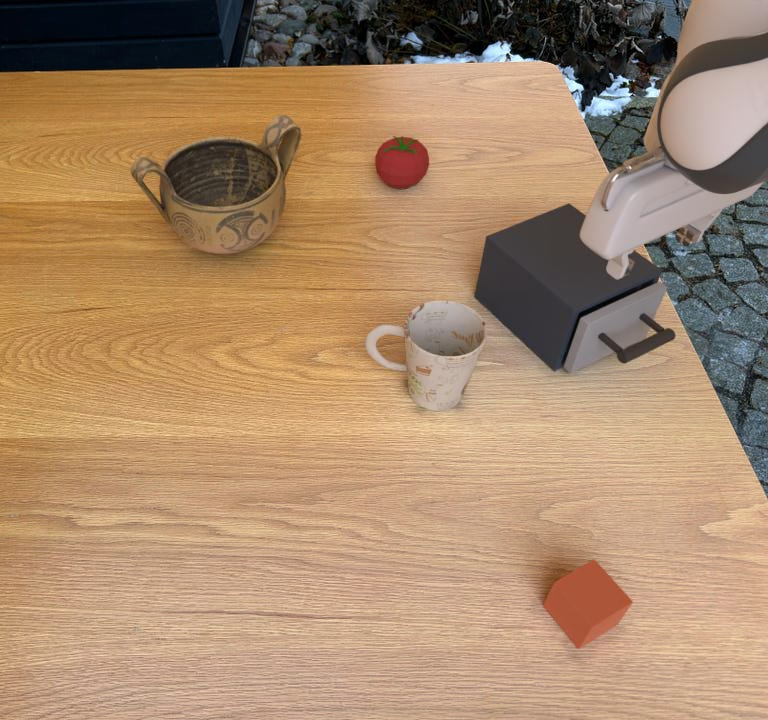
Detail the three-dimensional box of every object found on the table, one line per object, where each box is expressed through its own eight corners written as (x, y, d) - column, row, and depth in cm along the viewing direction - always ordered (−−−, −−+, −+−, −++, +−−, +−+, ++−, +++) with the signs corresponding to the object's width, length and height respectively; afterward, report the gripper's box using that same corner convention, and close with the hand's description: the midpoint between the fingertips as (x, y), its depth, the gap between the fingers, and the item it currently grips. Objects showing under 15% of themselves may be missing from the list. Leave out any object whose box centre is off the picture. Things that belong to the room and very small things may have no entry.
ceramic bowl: (274, 184, 112) (269, 89, 101) (328, 246, 102) (328, 149, 91) (133, 228, 106) (111, 132, 95) (174, 299, 95) (155, 201, 84)
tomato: (365, 174, 113) (367, 128, 108) (411, 162, 115) (416, 117, 109) (387, 202, 108) (391, 156, 102) (436, 190, 110) (442, 144, 104)
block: (580, 582, 68) (594, 558, 64) (617, 624, 65) (633, 601, 62) (542, 605, 66) (553, 582, 63) (578, 649, 64) (592, 627, 60)
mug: (466, 427, 80) (480, 364, 73) (352, 401, 83) (355, 338, 76) (478, 372, 85) (492, 308, 78) (371, 349, 88) (375, 286, 81)
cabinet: (635, 332, 89) (662, 270, 82) (553, 371, 85) (574, 310, 78) (551, 263, 98) (569, 202, 91) (473, 297, 94) (485, 235, 87)
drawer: (674, 361, 84) (700, 310, 78) (598, 399, 81) (619, 350, 75) (564, 272, 95) (579, 222, 89) (493, 303, 92) (504, 253, 86)
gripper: (643, 186, 59) (597, 313, 69) (815, 114, 65) (749, 241, 75) (585, 149, 63) (549, 275, 73) (752, 85, 69) (698, 209, 79)
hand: (652, 257), depth 74 cm, fingers open, 8 cm apart
